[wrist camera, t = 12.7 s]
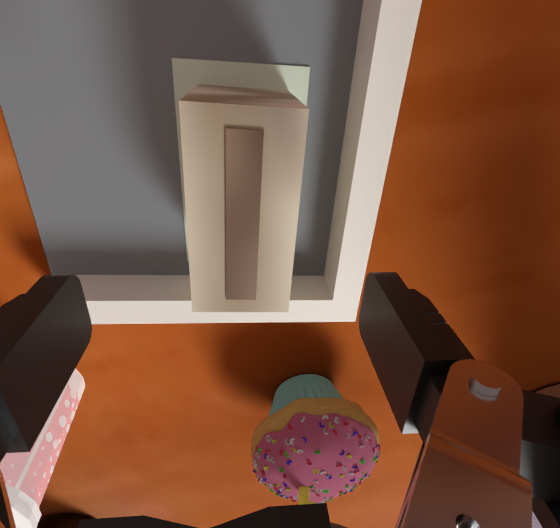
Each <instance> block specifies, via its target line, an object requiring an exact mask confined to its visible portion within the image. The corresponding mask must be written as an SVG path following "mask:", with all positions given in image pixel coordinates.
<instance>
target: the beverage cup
mask: <svg viewBox="0 0 560 528" xmlns="http://www.w3.org/2000/svg"><path fill="white" fill-rule="evenodd" d="M84 388H85V383H84V379H83V377H82V375H81V374H80V373H79V372H78V371H77V369H76V368H75V370H74V372H73V373H72V375H71V377H70V379H69V381H68V383H67V384H66V386H65V388H64V390H63V392H62V394H61V395H60V397H59V399H58V401H57V403H56V405H55V406H54V408H53V410H52V412H51V414H50V416H49V418H48V419H47V421H46V423H45V425H44V427H43V429H42V430H41V432H40V434H39V436H38V438H37V440H36V441H35V443H34V445H33V447H32V449H31V451H30V452H18V453H6V454H5V456H4V458H3V459H2V461H1V463H0V469H1V471H2V474H3V477H4V481H5V485H6V489H7V493H8V497H9V501H10V505H11V509H12V513H13V517H14V521H15V525H16V528H37V524H38V522H39V520H40V517H41V515H42V514H41V512H40V510H39V506H40V504H41V501H42V498H43V496H44V493H45V491H46V488H47V485H48V483H49V480H50V478H51V475H52V472H53V470H54V467H55V464H56V462H57V459H58V457H59V454H60V451H61V449H62V446H63V443H64V441H65V438H66V436H67V433H68V430H69V428H70V425H71V422H72V420H73V417H74V415H75V412H76V409H77V407H78V404H79V401H80V399H81V396H82V394H83V391H84Z"/></svg>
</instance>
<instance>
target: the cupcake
mask: <svg viewBox="0 0 560 528" xmlns="http://www.w3.org/2000/svg"><path fill="white" fill-rule="evenodd" d="M379 450H380V445H379V433H378V430H377V427H376V425H375V424H374V422H373V421H372V419H371V418H370V417H369V416H368V415H367V414H365V412H364V411H363V410H362V408H361V407H360V406H359V405H358V404H356V403H354V402H351V401H349V400H345V399H343V398H342V396H341V395H340V393H339V392H338V391H337V389H336V388H335V386H334V385H333V383H332V382H331V381H330V380H328V379H327V378H325V377H323V376H320V375H316V374H302V375H298V376H294V377H292V378H290V379H288V380H286V381H285V382H283V383H282V384H281V385H280V386H279V387H278V389H277V390H276V392H275V395H274V399H273V403H272V407H271V410H270V413H269V416H268V417H267V418H266V419H264V420H263V421H262V422H261V423H260V424H259V425H258V426H257V428H256V429H255V431H254V433H253V438H252V446H251V455H252V462H253V467H254V470H255V471H254V470H253V472H255V473H256V475H257V477H258V478H257V480H258V481H259V482H260V483H261V484H263V483H264V485H265V486H268V487H269V489H270V491H272V492H275V493H276V495H277V496H281V495H282V496H281V497H283V498H287V499H288V498H290V499H292V501H297V502H298V505H303V504H317V503H325V502H326V501H327V500H330V501H333V500H331V499H333V498H335V497H337V496H341V495H342V494H343V493H344V492H345V493H346V492H347V491H348V492H351V491H353V489H355V488H356V486H357V485H358V484H361V482H362V481H364V480H365V479H367V477H369V476H370V475H369V473H370V472H371V470H372V469H373V467H374V465H375V464H376V463H377V461H378V456H379V455H380V451H379ZM378 453H379V454H378ZM345 493H344V494H345Z"/></svg>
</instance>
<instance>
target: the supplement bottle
mask: <svg viewBox="0 0 560 528" xmlns="http://www.w3.org/2000/svg"><path fill="white" fill-rule="evenodd" d="M87 519H92V518H89V517H86V516H83V515H78V514H56V515H51V516H47V517H45V518H42V519H40V520H39V522H38V524H37V528H78V526H79V523H80V520H87Z"/></svg>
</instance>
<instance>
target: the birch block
mask: <svg viewBox="0 0 560 528" xmlns="http://www.w3.org/2000/svg"><path fill="white" fill-rule="evenodd" d="M179 112H180V128H181V144H182V160H183V176H184V192H185V208H186V224H187V239H188V255H189V271H190V287H191V303H192V312H288V311H289V301H290V292H291V282H292V272H293V262H294V253H295V243H296V233H297V223H298V214H299V204H300V194H301V184H302V175H303V165H304V155H305V145H306V136H307V126H308V116H309V108H307V107H306V106H305V105H304V104H303V103H302V102H301V101H300V100H298V99H297V98H296V97H295V96H294V95H293V94H292V93H291V92H290V91H287V90H273V89H259V88H244V87H230V86H216V85H201V84H199V85H198V86H196V87H195V88H194V89H193V90H191V91H190V92H189V93H188V94H186V95H185V96H184V97H183V98H181V99H180V100H179Z"/></svg>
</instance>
